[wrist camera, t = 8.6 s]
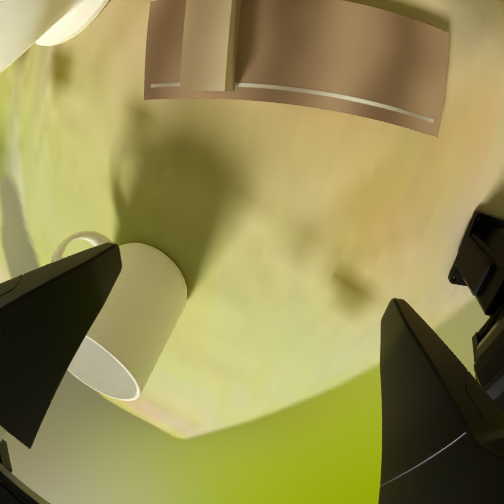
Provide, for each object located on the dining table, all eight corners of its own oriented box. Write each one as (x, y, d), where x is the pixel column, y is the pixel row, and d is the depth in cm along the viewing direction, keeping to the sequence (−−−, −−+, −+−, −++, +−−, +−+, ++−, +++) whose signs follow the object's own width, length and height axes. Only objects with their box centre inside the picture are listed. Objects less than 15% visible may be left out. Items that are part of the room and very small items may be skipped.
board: (437, 37, 11) (449, 33, 10) (425, 132, 15) (437, 137, 13) (164, 7, 13) (150, 1, 12) (158, 97, 17) (143, 99, 15)
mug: (137, 189, 21) (43, 264, 12) (207, 305, 26) (163, 404, 17) (78, 225, 24) (2, 291, 15) (142, 318, 29) (95, 397, 20)
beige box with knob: (274, -38, 11) (248, -106, 4) (263, 92, 16) (227, 92, 9) (198, -35, 11) (135, -85, 4) (187, 90, 16) (109, 97, 9)
